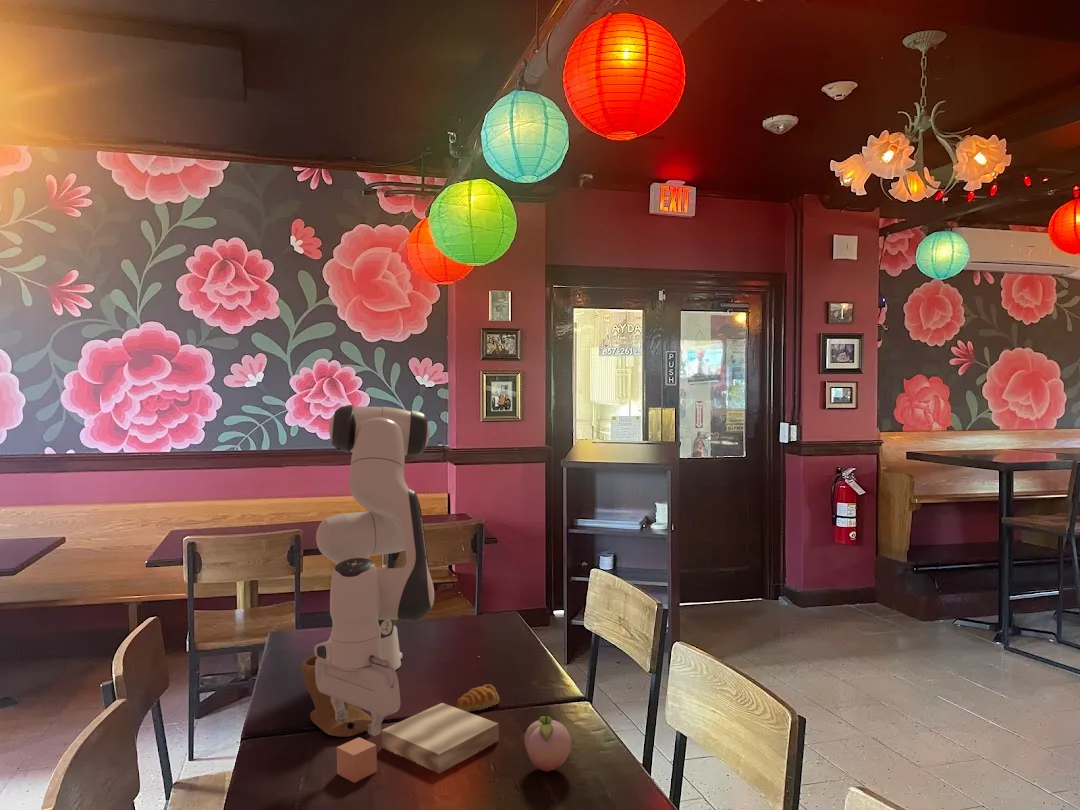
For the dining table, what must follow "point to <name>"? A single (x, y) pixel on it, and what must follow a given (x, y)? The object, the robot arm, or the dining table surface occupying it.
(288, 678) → the dining table surface
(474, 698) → the pastry
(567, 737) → the decorative fruit
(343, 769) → the terracotta block
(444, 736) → the birch base
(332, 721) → the cork boot vase
